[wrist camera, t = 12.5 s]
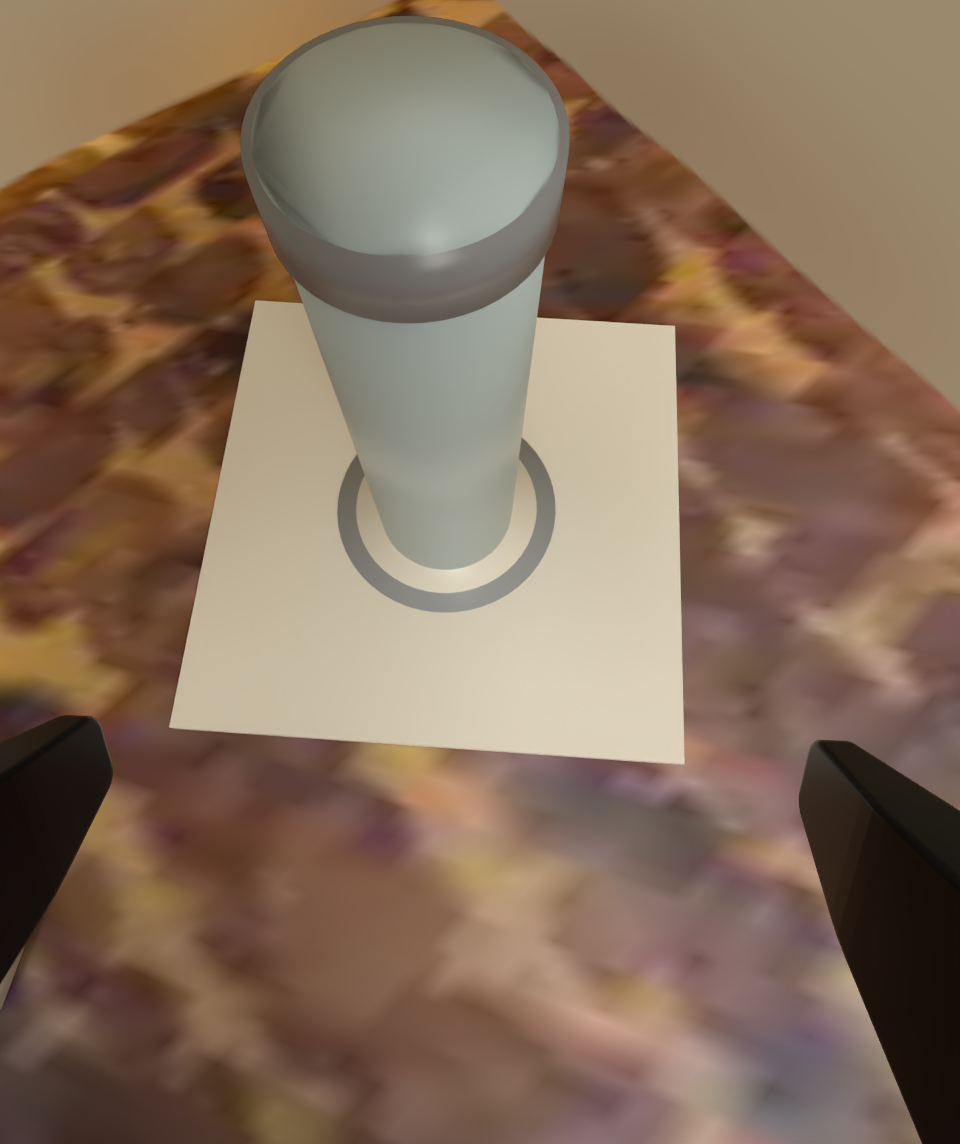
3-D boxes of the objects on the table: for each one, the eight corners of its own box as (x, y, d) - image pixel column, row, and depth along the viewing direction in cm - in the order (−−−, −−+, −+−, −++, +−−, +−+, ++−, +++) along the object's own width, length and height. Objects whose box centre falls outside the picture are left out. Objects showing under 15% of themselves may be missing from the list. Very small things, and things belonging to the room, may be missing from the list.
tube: (468, 600, 22) (455, 322, 9) (348, 528, 23) (172, 171, 10) (542, 487, 23) (628, 93, 10) (426, 421, 24) (364, -25, 11)
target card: (678, 764, 21) (685, 763, 21) (177, 729, 22) (167, 727, 21) (670, 335, 26) (675, 324, 26) (260, 310, 26) (254, 298, 26)
